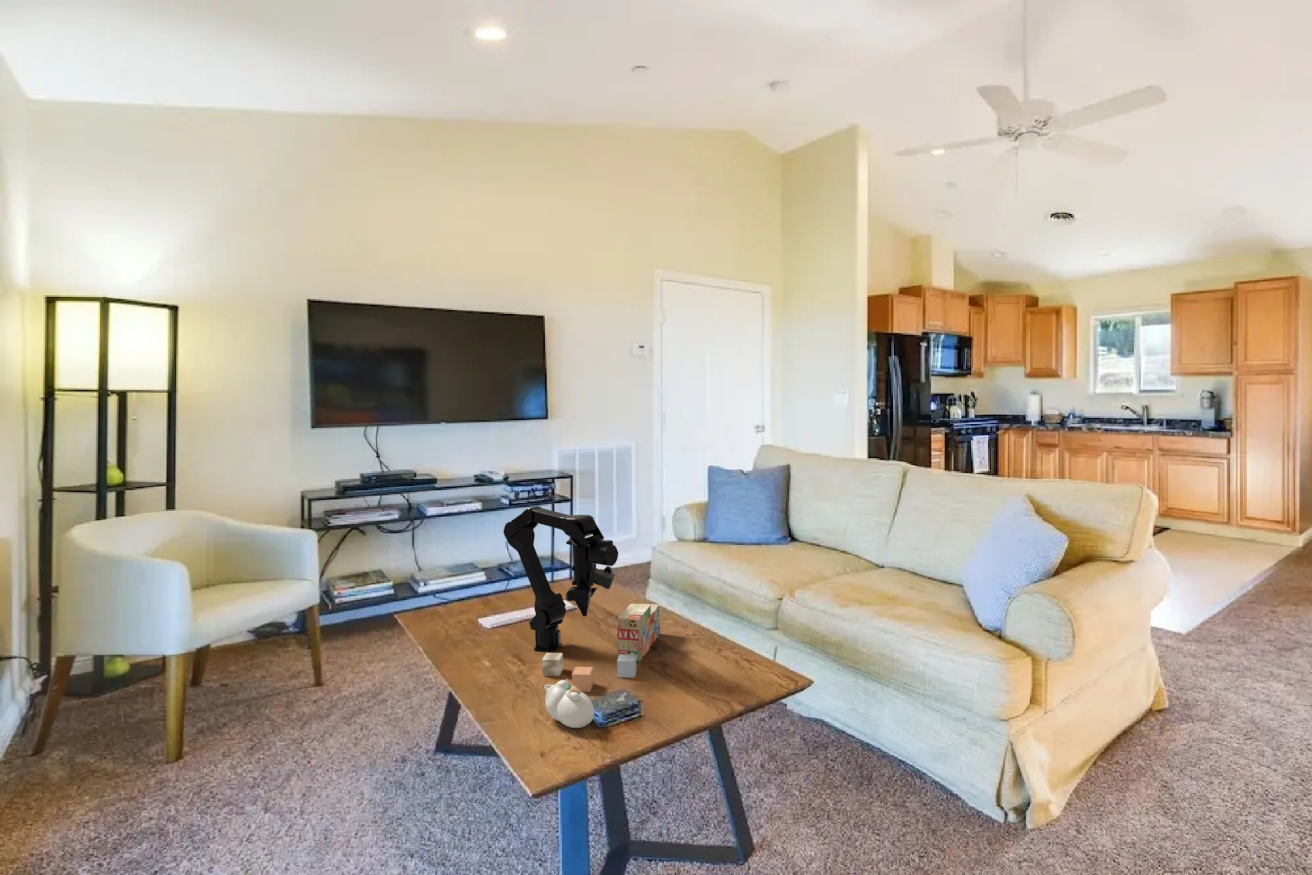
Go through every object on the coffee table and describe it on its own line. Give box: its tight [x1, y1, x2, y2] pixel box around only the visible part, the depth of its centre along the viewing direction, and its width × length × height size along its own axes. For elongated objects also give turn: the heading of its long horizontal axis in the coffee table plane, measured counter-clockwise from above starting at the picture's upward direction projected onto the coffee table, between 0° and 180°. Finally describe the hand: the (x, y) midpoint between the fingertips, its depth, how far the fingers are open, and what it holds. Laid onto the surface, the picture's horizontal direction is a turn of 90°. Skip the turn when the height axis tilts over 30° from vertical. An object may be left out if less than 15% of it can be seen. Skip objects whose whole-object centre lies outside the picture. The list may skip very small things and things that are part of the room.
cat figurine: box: [543, 678, 595, 729], centre depth 151 cm, size 10×8×15 cm
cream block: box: [541, 652, 564, 677], centre depth 177 cm, size 4×4×4 cm
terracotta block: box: [571, 666, 594, 693], centre depth 168 cm, size 4×4×4 cm
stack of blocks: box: [617, 603, 661, 663], centre depth 194 cm, size 21×6×12 cm, turn 164°
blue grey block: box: [616, 654, 638, 679], centre depth 175 cm, size 4×4×4 cm
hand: (584, 615), depth 186 cm, fingers closed
